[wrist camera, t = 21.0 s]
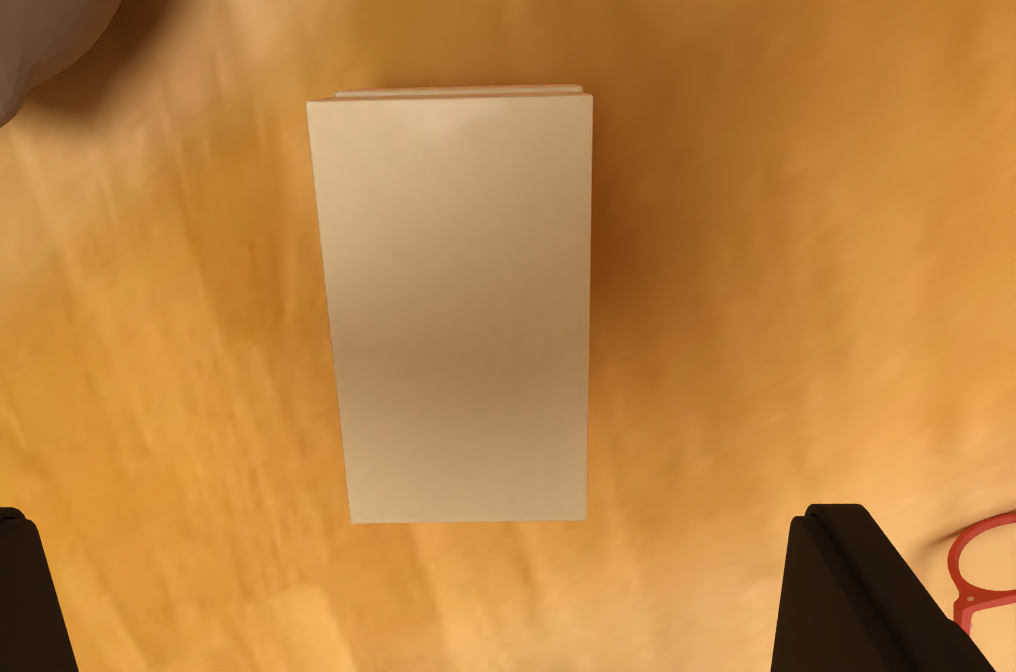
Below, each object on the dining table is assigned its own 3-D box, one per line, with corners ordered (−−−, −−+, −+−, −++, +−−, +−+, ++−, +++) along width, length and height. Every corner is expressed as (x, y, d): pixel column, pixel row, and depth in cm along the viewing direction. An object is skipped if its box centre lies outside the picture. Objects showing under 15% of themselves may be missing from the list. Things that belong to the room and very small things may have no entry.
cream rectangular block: (332, 96, 21) (304, 101, 18) (582, 91, 21) (593, 94, 18) (369, 472, 25) (350, 524, 22) (578, 470, 25) (586, 521, 22)
